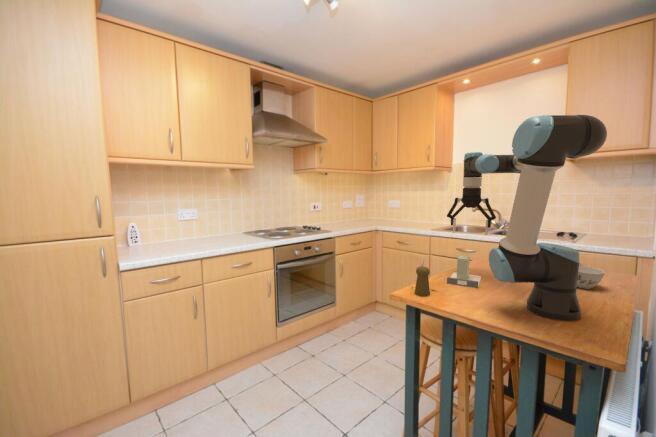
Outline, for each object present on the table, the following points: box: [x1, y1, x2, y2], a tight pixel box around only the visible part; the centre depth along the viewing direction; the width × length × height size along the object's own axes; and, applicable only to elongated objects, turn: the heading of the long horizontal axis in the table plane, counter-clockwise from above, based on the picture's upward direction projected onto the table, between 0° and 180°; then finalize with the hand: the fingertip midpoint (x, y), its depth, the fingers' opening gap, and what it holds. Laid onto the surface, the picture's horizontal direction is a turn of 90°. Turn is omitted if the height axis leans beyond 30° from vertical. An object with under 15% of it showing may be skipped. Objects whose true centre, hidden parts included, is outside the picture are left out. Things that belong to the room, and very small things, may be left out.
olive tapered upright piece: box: [414, 266, 431, 297], centre depth 122 cm, size 6×6×11 cm
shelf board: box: [446, 272, 482, 289], centre depth 135 cm, size 18×12×4 cm, turn 149°
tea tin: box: [456, 254, 471, 280], centre depth 136 cm, size 8×4×10 cm, turn 149°
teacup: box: [577, 264, 605, 290], centre depth 128 cm, size 15×12×8 cm
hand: (469, 233), depth 140 cm, fingers open, 13 cm apart
